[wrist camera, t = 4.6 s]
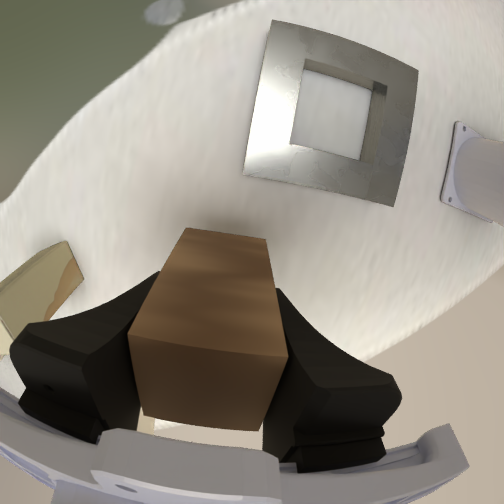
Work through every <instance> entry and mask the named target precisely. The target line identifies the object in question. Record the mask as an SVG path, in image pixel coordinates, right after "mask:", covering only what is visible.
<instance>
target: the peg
mask: <svg viewBox="0 0 504 504" xmlns="http://www.w3.org/2000/svg"><path fill="white" fill-rule="evenodd" d="M128 341H129V347H130V354H131V359H132V365H133V370H134V375H135V380H136V385H137V390H138V394H139V399H140V403H141V407H142V411H143V415H144V416H148V417H152V418H157V419H161V420H166V421H171V422H177V423H183V424H189V425H195V426H203V427H211V428H220V429H230V430H243V431H259V429H260V426H261V424H262V422H263V420H264V417H265V415H266V412H267V410H268V408H269V405H270V403H271V400H272V398H273V395H274V393H275V390H276V388H277V385H278V383H279V380H280V378H281V375H282V373H283V370H284V367H285V365H286V362H287V359H288V352H287V347H286V341H285V336H284V331H283V325H282V320H281V315H280V310H279V304H278V299H277V294H276V289H275V284H274V279H273V274H272V269H271V263H270V258H269V253H268V249H267V244H266V239H261V238H254V237H248V236H241V235H234V234H228V233H221V232H214V231H207V230H200V229H193V228H186V229H185V230H184V232H183V234H182V235H181V237H180V239H179V240H178V242H177V244H176V245H175V247H174V249H173V250H172V252H171V254H170V256H169V257H168V259H167V261H166V263H165V264H164V266H163V268H162V270H161V271H160V273H159V275H158V277H157V279H156V280H155V282H154V284H153V286H152V288H151V289H150V291H149V293H148V295H147V297H146V299H145V301H144V303H143V304H142V306H141V308H140V310H139V312H138V314H137V316H136V318H135V320H134V322H133V324H132V326H131V328H130V330H129V332H128Z"/></svg>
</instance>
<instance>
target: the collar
mask: <svg viewBox="0 0 504 504" xmlns="http://www.w3.org/2000/svg"><path fill="white" fill-rule="evenodd" d="M303 69H307V70H311V71H315V72H319V73H322V74H326V75H329V76H333V77H336V78H339V79H342V80H345V81H348V82H351V83H354V84H357V85H360V86H363V87H365V88H368V89H371V90H372V97H371V103H370V109H369V115H368V121H367V126H366V131H365V137H364V142H363V147H362V151H361V156H360V161H358V160H354V159H351V158H347V157H344V156H340V155H336V154H332V153H328V152H324V151H320V150H316V149H312V148H308V147H303V146H299V145H294V144H289V142H290V137H291V131H292V126H293V121H294V115H295V110H296V105H297V99H298V94H299V88H300V83H301V77H302V72H303ZM417 83H418V70H417V69H415V68H413V67H411V66H409V65H407V64H405V63H403V62H401V61H399V60H397V59H395V58H393V57H390V56H388V55H386V54H384V53H381V52H379V51H377V50H374V49H372V48H369V47H367V46H364V45H362V44H359V43H356V42H354V41H351V40H348V39H345V38H342V37H339V36H336V35H333V34H330V33H326V32H323V31H320V30H316V29H312V28H308V27H304V26H300V25H296V24H292V23H287V22H282V21H277V20H272V22H271V26H270V30H269V34H268V39H267V44H266V49H265V53H264V58H263V63H262V68H261V74H260V79H259V84H258V89H257V94H256V100H255V105H254V110H253V116H252V121H251V127H250V132H249V138H248V144H247V149H246V155H245V161H244V167H243V175H248V176H254V177H260V178H266V179H271V180H277V181H282V182H288V183H293V184H298V185H303V186H308V187H313V188H317V189H322V190H327V191H331V192H335V193H340V194H344V195H348V196H352V197H357V198H361V199H365V200H368V201H372V202H376V203H380V204H384V205H387V206H391V207H394V203H395V200H396V196H397V192H398V188H399V184H400V180H401V176H402V172H403V168H404V163H405V159H406V154H407V149H408V144H409V139H410V133H411V127H412V121H413V115H414V108H415V100H416V92H417Z"/></svg>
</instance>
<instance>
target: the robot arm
mask: <svg viewBox="0 0 504 504" xmlns="http://www.w3.org/2000/svg"><path fill="white" fill-rule="evenodd" d="M448 199H449V201H448ZM441 200H442V202H444V203H446V204H448V205H451V206H453V207H456V208H458V209H461V210H463V211H465V212H468V213H470V214H472V215H475V216H477V217H479V218H482V219H484V220H486V221H488V222H490V223H492V222H493V221H494V222H496V223H498V224H500V225H502V226H504V142H499V141H494V140H488V139H485V138H484V137H483V136H481V135H480V134H479V133H477V132H476V131H474V130H473V129H471V128H470V127H468V126H467V125H465V124H464V123H462V122H460V121H457V122H456V124H455V131H454V138H453V144H452V149H451V155H450V160H449V165H448V170H447V174H446V178H445V183H444V187H443V191H442V195H441ZM159 273H160V271H158V272H156V273H154V274H153V275H151V276H150V277H148V278H147V279H145V280H144V281H142V282H141V283H139V284H138V285H136V286H135V287H133V288H132V289H130V290H128V291H127V292H125V293H123V294H122V295H120V296H118V297H116V298H115V299H113V300H111V301H109V302H107V303H105V304H102V305H100V306H98V307H95V308H93V309H90V310H87V311H84V312H82V313H79V314H76V315H72V316H68V317H64V318H60V319H55V320H50V321H42V322H35V323H28V324H27V325H26V326H25V328H24V329H23V330H22V331H21V332H20V334H19V335H18V336H17V337H16V339H15V340H14V341H13V342H12V344H11V345H10V348H9V353H10V358H11V361H12V363H13V365H14V367H15V369H16V371H17V373H18V374H19V376H20V378H21V380H22V381H23V383H24V385H25V387H26V389H25V391H24V393H23V394H22V396H21V398H20V399H19V398H17V397H15V396H14V395H12V394H10V393H9V392H7V391H5V390H4V389H2V388H1V387H0V455H1V456H3V457H4V458H5V459H7V460H8V461H9V462H11V463H12V464H14V465H15V466H17V467H18V468H19V469H21V470H22V471H24V472H25V473H27V474H29V475H30V476H32V477H33V478H35V479H37V480H38V481H40V482H42V483H44V484H45V485H47V486H49V487H50V488H52V489H54V494H53V497H52V501H51V504H407V503H410V502H412V501H415V500H417V499H419V498H422V497H424V496H426V495H428V494H430V493H432V492H434V491H435V490H437V489H439V488H440V487H442V486H443V485H445V484H447V483H448V482H450V481H451V480H453V479H454V478H455V477H457V476H458V475H460V474H461V473H463V472H464V471H466V470H467V469H468V468H469V464H468V462H467V459H466V457H465V455H464V453H463V451H462V449H461V447H460V444H459V442H458V440H457V438H456V436H455V434H454V432H453V430H452V428H451V426H450V424H445V425H442V426H439V427H436V428H433V429H431V430H429V431H427V432H425V433H424V434H423V435H422V436H421V437H420V438H419V439H418V440H417V441H416V442H413V443H410V444H406V445H402V446H399V447H395V448H391V449H387V450H385V448H384V445H383V442H382V439H381V437H383V436H384V434H385V432H384V429H383V427H382V426H383V425H384V423H385V422H386V421H387V420H388V419H389V418H390V417H391V416H392V415H393V413H394V412H395V411H396V410H397V408H398V407H399V405H400V403H401V400H402V395H401V392H400V390H399V388H398V386H397V384H396V382H395V380H394V378H393V376H392V375H391V374H388V373H386V372H383V371H381V370H379V369H376V368H374V367H371V366H369V365H367V364H365V363H363V362H362V361H360V360H358V359H356V358H354V357H352V356H351V355H349V354H347V353H346V352H344V351H343V350H341V349H340V348H338V347H337V346H335V345H334V344H333V343H331V342H330V341H329V340H328V339H326V338H325V337H324V336H323V335H321V334H320V333H319V332H318V331H317V330H316V329H315V328H314V327H313V326H312V325H311V324H310V323H309V322H308V321H307V320H306V319H305V318H304V317H303V316H302V315H301V314H300V313H299V312H298V310H297V309H296V308H295V307H294V306H293V305H292V303H291V302H290V301H289V300H288V298H287V297H286V296H285V295H284V293H283V292H282V291H281V290H280V289H279V288H275V289H276V294H277V299H278V304H279V310H280V315H281V320H282V325H283V331H284V336H285V341H286V347H287V352H288V359H287V362H286V365H285V367H284V370H283V373H282V375H281V378H280V380H279V383H278V385H277V388H276V390H275V393H274V395H273V398H272V400H271V403H270V405H269V408H268V410H267V412H266V415H265V417H264V420H263V448H262V449H263V450H255V449H248V448H241V447H229V446H218V445H208V444H201V443H193V442H186V441H181V440H175V439H170V438H164V437H160V436H155V435H151V434H146V433H142V432H138V431H137V426H138V420H139V415H140V409H141V403H140V399H139V394H138V390H137V385H136V380H135V375H134V370H133V365H132V359H131V354H130V347H129V341H128V332H129V330H130V328H131V326H132V324H133V322H134V320H135V318H136V316H137V314H138V312H139V310H140V308H141V306H142V304H143V303H144V301H145V299H146V297H147V295H148V293H149V291H150V289H151V288H152V286H153V284H154V282H155V280H156V279H157V277H158V275H159Z"/></svg>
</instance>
